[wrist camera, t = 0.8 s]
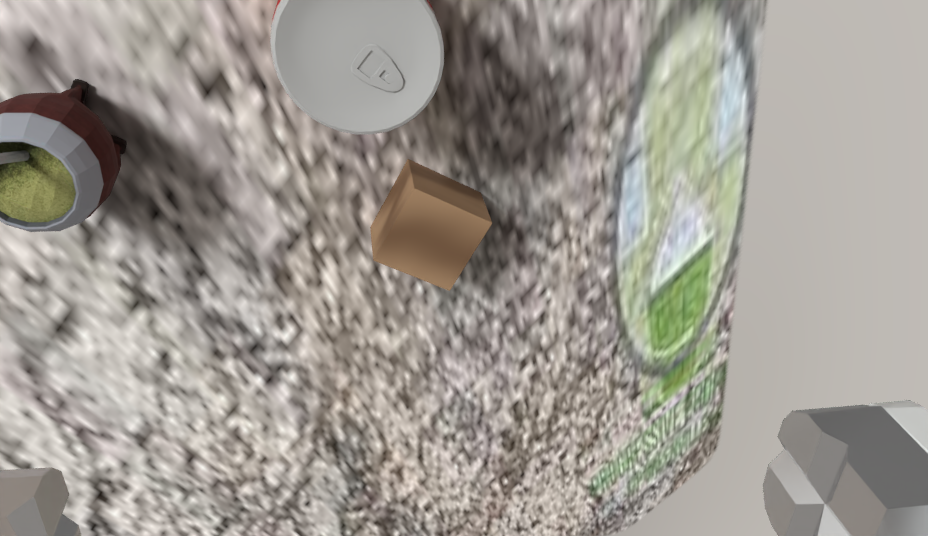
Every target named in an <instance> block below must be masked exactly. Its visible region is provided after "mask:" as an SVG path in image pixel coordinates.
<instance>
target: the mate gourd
mask: <svg viewBox="0 0 928 536" xmlns="http://www.w3.org/2000/svg"><path fill="white" fill-rule="evenodd" d="M88 87H89V84H88V83H87V82H85V81H82V80H79V79H75V80H74V81H73V83H72V86H71V89H69V90H66V91H64V92H62V93H31V94H23V95H19V96H16V97H14V98H11V99H8V100H6V101H3V102H1V103H0V221H1V222H3V223H4V224H6V225H9V226H13V227H16V228H19V229H23V230H26V231H30V232H37V231H61V230H63V229H66V228H68V227H71V226H73V225H76V224H78V223H81V222H83V221H84V220H85V219H86V218H88V217H90V216H91V215H92V213H93V212H94V211H95V210H96V209H97V208H98V207H99V206H100V205H101V204H102V203H103V202H104V201H105V200H106V198H107V197H108V196H109V195H110V193H111V190H112V188H113V185H114V183H115V180H116V178H117V175H118V172H119V170H120V167H121V157H120V154H124V153H125V149H126V144H127V143H126V141H125V140H123V139H121V138H118V137H115V136H112V135H110V133H109V132H108V130H107V129H106V127H105V126H104V124H103V123H102V121H101V120H100V118H99V117H98V116H97V115H96V114H95V113H93V112H92V111H91V110H90V109H89V108H87V107H86V106H85V101H86V97H87V93H88Z"/></svg>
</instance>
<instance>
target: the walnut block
mask: <svg viewBox="0 0 928 536" xmlns="http://www.w3.org/2000/svg"><path fill="white" fill-rule="evenodd" d="M491 224H492V221H491V218H490V216H489V213H488V210H487V208H486V205H485V203H484V200H483V197H482V195H481V193H480V192H478V191H476V190H474V189H472V188H470V187H467V186H465V185H463V184H461V183H459V182H457V181H454V180H452V179H450V178H448V177H446V176H444V175H441V174H439V173H437V172H435V171H433V170H431V169H428V168H426V167H424V166H422V165H420V164H418V163H415V162H413V161H411V160H409V159H408V160H407V162H406V164H405V166H404V167H403V169H402V171H401V173H400V175H399V177H398V178H397V180H396V182H395V184H394V186H393V187H392V189H391V191H390V193H389V195H388V196H387V198H386V200H385V202H384V204H383V205H382V207H381V209H380V211H379V213H378V215H377V216H376V218H375V220H374V222H373V224H372V225H371V227H370V228H371V239H372V250H373V260H374V261H376V262H379V263H381V264H384V265H386V266H389V267H391V268H394V269H396V270H399V271H401V272H404V273H407V274H409V275H412V276H414V277H417V278H419V279H422V280H424V281H427V282H429V283H432V284H434V285H437V286H439V287H442V288H444V289H447V290H449V291H450V289H451V288H452V286H453V285H454V283H455V281H456V280H457V278H458V277H459V275H460V274H461V272H462V270H463V269H464V267H465V266H466V264H467V262H468V261H469V259H470V258H471V256H472V254H473V253H474V251H475V250H476V248H477V247H478V245H479V243H480V242H481V240H482V239H483V237H484V235H485V234H486V232H487V231H488V229H489V227H490V226H491Z"/></svg>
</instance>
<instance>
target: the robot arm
mask: <svg viewBox="0 0 928 536" xmlns="http://www.w3.org/2000/svg"><path fill="white" fill-rule="evenodd" d="M778 438H779V440H780V442H781V443H782V445H783V447H784V449H785V450H784V451H782V452H781V453H780V454H779V455H778V456H777V457H776V458H775V459H774V460H773V461H772V462H771V463H769V465H768V468H767V472H766V476H765V479H764V483H763V492H764V501H765V509H766V511H767V514H768V516H769V520H770V522H771V525H772V527H773V528H774V530H775V531H776V533H777V535H778V536H928V410H926V409H925V408H924V407H923V406H921V405H919V404H917V403H915V402H912V401H910V400H906V401H894V402H883V403H874V404H869V405H855V406H843V407H831V408H820V409H809V410H796V411H792V412H791V413H790V414H789V415H788V416H787V417H786V418H785V419H784V420H783V422H782V425H781V428H780V431H779V434H778ZM68 496H69V492H68V489H67V486H66V484H65V481H64V478H63V475H62V472H61V471H59V470H57V469H54V468H35V469H16V470H0V536H81V533H80V529H79V525H78V524H76V523H75V522H73V521H72V520H70V519H69V518H67V517H66V516H65V515H63V514H62V512H63V510H64V507H65V504H66V502H67V499H68Z"/></svg>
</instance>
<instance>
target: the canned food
mask: <svg viewBox="0 0 928 536" xmlns="http://www.w3.org/2000/svg"><path fill="white" fill-rule="evenodd" d="M270 44H271V52H272V59H273V64H274V67H275V70H276V73H277V76H278V78H279V80H280V82H281V84H282V86H283V87H284V89H285V91H286V93H287V94H288V95H289V97H290V98H291V99H292V100H293V101H294V103H295V104H296V105H297V106H298V107H299V108H300V109H301V110H302V111H304V112H305V113H306V114H307V115H308V116H310V117H311V118H313V119H314V120H316V121H318V122H319V123H321V124H323V125H325V126H327V127H330V128H332V129H335V130H338V131H341V132H346V133H352V134H377V133H382V132H387V131H390V130H393V129H395V128H398V127H400V126H403V125H404V124H406V123H407V122H409V121H410V120H412V119H413V118H415V117H416V116H417V115H418V114H419V113H420V112H421V111H422V110H423V109H424V108H425V107H426V106H427V105H428V103H429V102H430V100H431V99H432V97H433V96H434V94H435V92H436V90H437V87H438V85H439V83H440V80H441V76H442V71H443V66H444V43H443V38H442V33H441V28H440V25H439V23H438V20H437V18H436V16H435V13H434V11H433V8H432V6H431V4H430V2H429V0H278V2H277V6H276V9H275V12H274V16H273V21H272V25H271V38H270Z"/></svg>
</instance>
